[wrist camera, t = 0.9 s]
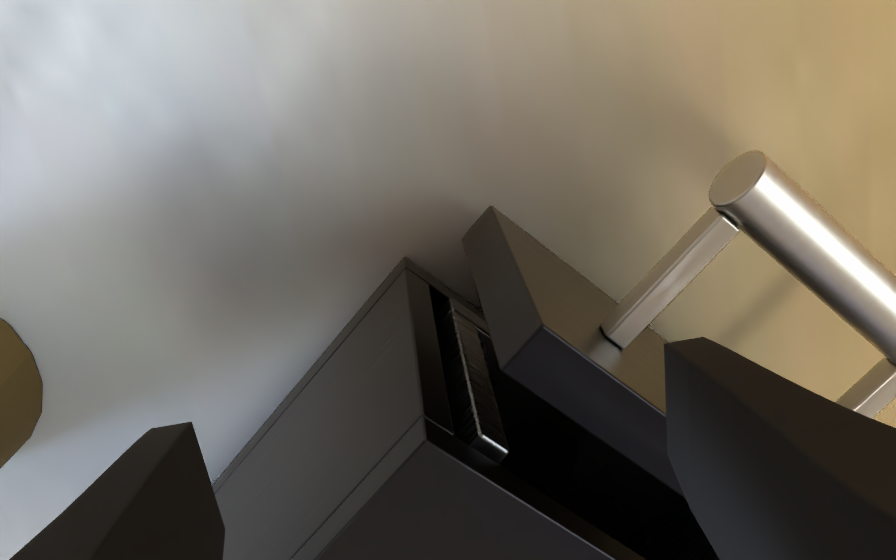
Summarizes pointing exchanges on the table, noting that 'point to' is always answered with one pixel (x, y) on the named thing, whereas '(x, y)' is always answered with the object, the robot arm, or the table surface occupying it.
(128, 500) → the robot arm
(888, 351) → the drawer
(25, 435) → the pawn figure
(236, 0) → the table surface
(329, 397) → the cabinet
